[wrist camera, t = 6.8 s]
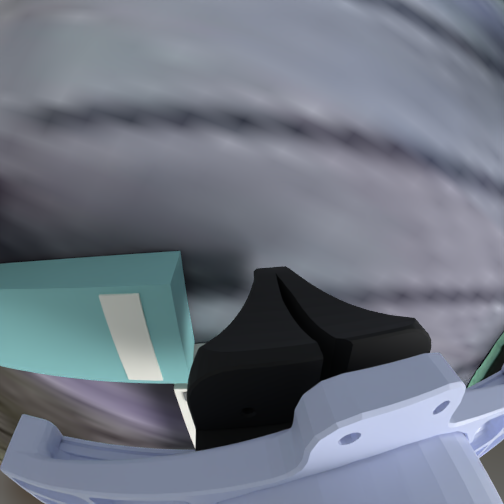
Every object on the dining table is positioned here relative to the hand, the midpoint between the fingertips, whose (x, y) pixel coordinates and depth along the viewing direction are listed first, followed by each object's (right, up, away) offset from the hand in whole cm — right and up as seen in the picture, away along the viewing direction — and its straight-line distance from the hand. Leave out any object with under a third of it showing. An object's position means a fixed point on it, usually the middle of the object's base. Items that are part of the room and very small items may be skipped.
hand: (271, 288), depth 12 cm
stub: (-10, -1, +1) cm, 10 cm away
